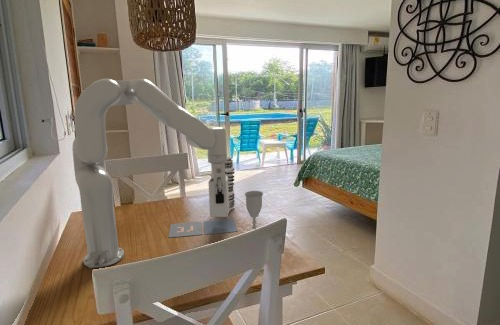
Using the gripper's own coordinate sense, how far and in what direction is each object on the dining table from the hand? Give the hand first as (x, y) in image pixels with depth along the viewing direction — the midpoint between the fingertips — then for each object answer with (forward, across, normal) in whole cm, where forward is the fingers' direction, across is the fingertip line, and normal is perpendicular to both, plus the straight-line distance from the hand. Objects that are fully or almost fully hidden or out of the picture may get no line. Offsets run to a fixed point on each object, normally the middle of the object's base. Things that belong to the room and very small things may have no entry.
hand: (219, 199), depth 128 cm
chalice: (+12, -14, -12) cm, 22 cm away
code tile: (+12, 0, +14) cm, 18 cm away
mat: (+12, 0, 0) cm, 12 cm away
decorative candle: (+12, +22, -5) cm, 26 cm away
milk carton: (+7, 0, 0) cm, 7 cm away
